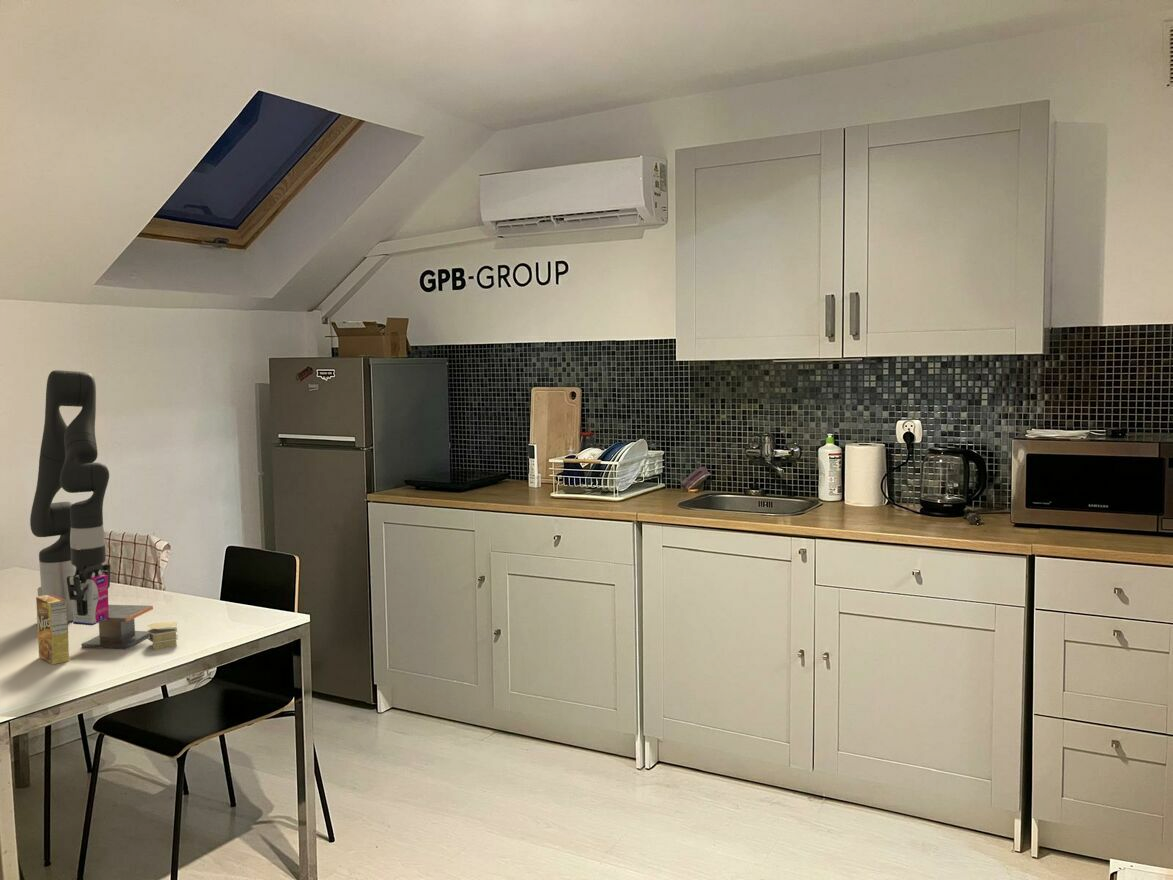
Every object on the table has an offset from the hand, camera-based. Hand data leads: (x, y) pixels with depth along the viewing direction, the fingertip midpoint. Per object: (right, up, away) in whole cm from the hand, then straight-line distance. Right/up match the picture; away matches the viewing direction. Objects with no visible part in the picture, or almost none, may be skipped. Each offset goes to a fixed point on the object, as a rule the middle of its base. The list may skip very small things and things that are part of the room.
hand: (91, 611), depth 232 cm
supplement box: (0, -3, 0) cm, 3 cm away
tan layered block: (+13, -11, +11) cm, 20 cm away
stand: (0, -10, +14) cm, 17 cm away
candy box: (-9, -12, 0) cm, 15 cm away
